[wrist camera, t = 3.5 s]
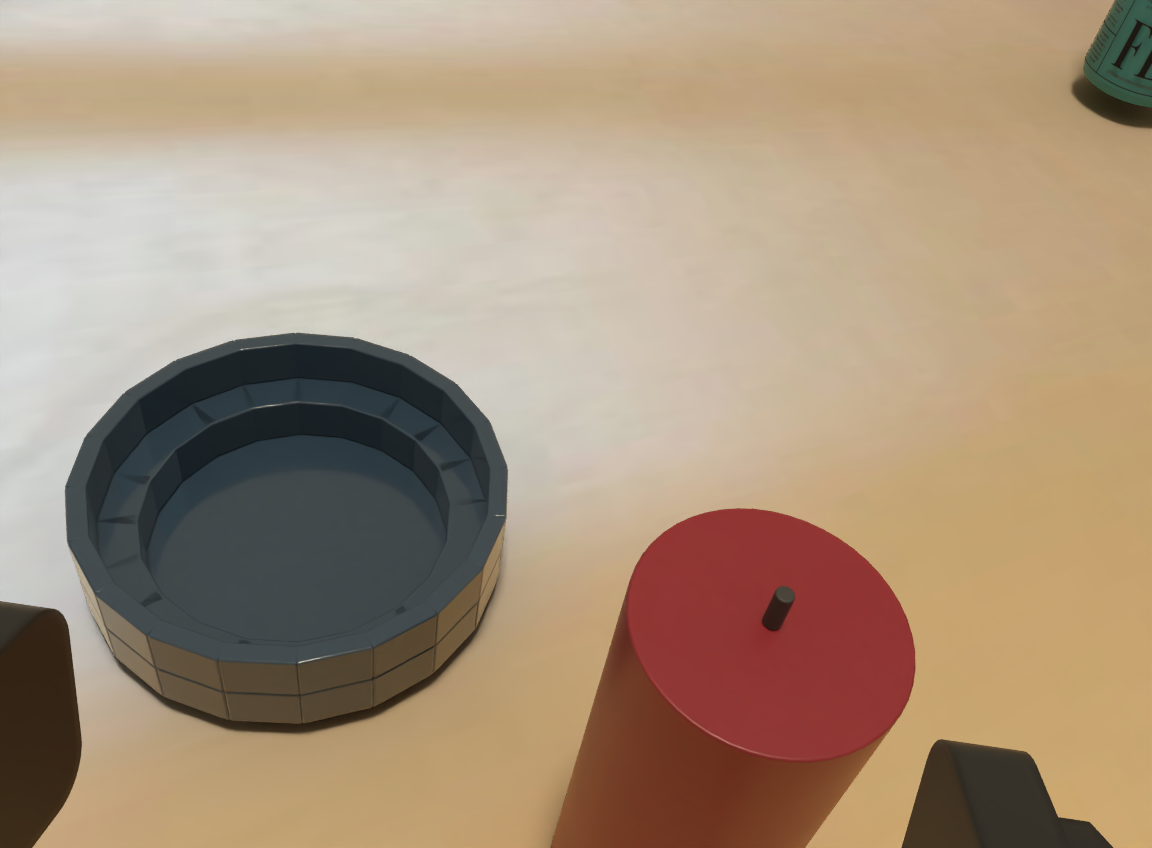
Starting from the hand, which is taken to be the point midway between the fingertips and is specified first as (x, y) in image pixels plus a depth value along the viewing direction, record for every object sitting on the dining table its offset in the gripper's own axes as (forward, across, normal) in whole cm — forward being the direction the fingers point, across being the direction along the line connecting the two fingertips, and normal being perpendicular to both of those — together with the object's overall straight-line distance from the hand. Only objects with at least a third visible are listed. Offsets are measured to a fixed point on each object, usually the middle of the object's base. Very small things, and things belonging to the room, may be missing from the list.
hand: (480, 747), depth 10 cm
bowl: (+23, +10, +13) cm, 28 cm away
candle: (+15, -3, +17) cm, 23 cm away
